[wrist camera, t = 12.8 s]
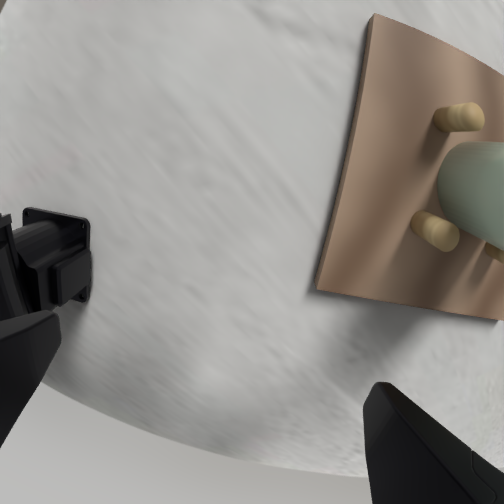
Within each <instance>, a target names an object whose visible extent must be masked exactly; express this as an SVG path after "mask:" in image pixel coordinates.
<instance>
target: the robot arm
mask: <svg viewBox="0 0 504 504" xmlns="http://www.w3.org/2000/svg"><path fill="white" fill-rule="evenodd" d="M28 213H29V215H28ZM11 223H12V219H11V214H7V215H1V213H0V448H1V446H2V444H3V443H4V441H5V439H6V437H7V436H8V434H9V432H10V431H11V429H12V427H13V425H14V424H15V422H16V420H17V419H18V417H19V416H20V414H21V412H22V411H23V409H24V407H25V406H26V404H27V403H28V401H29V399H30V398H31V396H32V395H33V393H34V392H35V390H36V388H37V387H38V385H39V384H40V382H41V380H42V378H43V376H44V374H45V372H46V371H47V369H48V367H49V365H50V363H51V361H52V359H53V357H54V355H55V354H56V352H57V350H58V348H59V346H60V344H61V330H60V322H59V317H58V315H57V314H56V313H54V312H51V311H52V310H53V309H54V308H55V307H57V306H59V307H61V306H63V305H64V304H65V303H66V302H67V301H68V300H70V299H73V300H76V301H79V302H83V303H84V302H86V301H87V300H88V299H89V283H90V249H89V235H90V223H89V221H88V220H87V219H86V218H82V217H77V216H72V215H67V214H62V213H57V212H52V211H47V210H42V209H37V208H32V207H27V208H25V209H24V210H23V227H21V228H18V229H16V230H13V231H12V227H11ZM81 223H83V224H84V228H83V227H82V226H81ZM81 294H83V295H84V297H83V296H82V295H81ZM363 421H364V439H365V455H366V463H367V469H368V475H369V482H370V489H371V496H372V503H373V504H504V473H503V472H501V471H500V470H498V469H497V468H496V467H494V466H493V465H491V464H490V463H489V462H487V461H486V460H485V459H483V458H482V457H481V456H480V455H478V454H477V453H476V452H475V451H473V450H472V451H471V448H470V447H468V446H467V445H466V444H465V443H463V442H462V441H461V440H460V439H458V438H457V437H456V436H455V435H453V434H452V433H451V432H450V431H448V430H447V429H446V428H445V427H444V426H442V425H441V424H440V423H439V422H437V421H436V420H435V419H434V418H432V417H431V416H430V415H429V414H427V413H426V412H425V411H424V410H423V409H421V408H420V407H419V406H418V405H416V404H415V403H414V402H413V401H412V400H410V399H409V398H408V397H407V396H405V395H404V394H403V393H402V392H401V391H399V390H398V389H397V388H396V387H395V386H393V385H392V384H391V383H388V382H376V383H375V384H374V386H373V387H372V389H371V391H370V393H369V395H368V397H367V399H366V401H365V403H364V405H363Z"/></svg>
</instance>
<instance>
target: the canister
mask: <svg viewBox="0 0 504 504" xmlns="http://www.w3.org/2000/svg"><path fill="white" fill-rule="evenodd" d="M437 190H438V198H439V202H440V205H441V208H442V210H443V212H444V214H445V216H446V217H447V219H448V220H449V221H450V222H451V223H453V224H455V225H456V226H457V227H458V228H460V229H462V230H464V231H466V232H468V233H470V234H472V235H474V236H476V237H478V238H480V239H482V240H484V241H486V242H488V243H490V244H491V245H493V246H495V247H497V248H499V249H501V250H503V251H504V142H480V141H466V142H462V143H459V144H457V145H456V146H454V147H453V148H452V149H451V150H450V151H449V152H448V153H447V155H446V156H445V158H444V160H443V161H442V164H441V166H440V170H439V174H438V182H437Z"/></svg>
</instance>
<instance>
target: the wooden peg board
mask: <svg viewBox="0 0 504 504" xmlns="http://www.w3.org/2000/svg"><path fill="white" fill-rule="evenodd" d="M466 141H480V142H504V76H503V75H502V74H500V73H499V72H497V71H495V70H494V69H492V68H491V67H489V66H487V65H486V64H484V63H482V62H481V61H479V60H477V59H476V58H474V57H472V56H470V55H468V54H467V53H465V52H463V51H461V50H459V49H457V48H455V47H453V46H451V45H450V44H448V43H446V42H443V41H441V40H439V39H437V38H435V37H433V36H431V35H429V34H426V33H424V32H422V31H420V30H417V29H415V28H413V27H410V26H408V25H405V24H403V23H400V22H398V21H395V20H393V19H390V18H387V17H384V16H382V15H379V14H376V13H374V14H373V16H372V17H371V18H370V19H369V25H368V32H367V40H366V46H365V53H364V60H363V66H362V72H361V78H360V84H359V90H358V95H357V101H356V106H355V111H354V117H353V122H352V127H351V132H350V137H349V142H348V147H347V151H346V156H345V161H344V165H343V170H342V174H341V179H340V183H339V187H338V192H337V196H336V200H335V204H334V208H333V212H332V216H331V220H330V224H329V228H328V232H327V236H326V240H325V244H324V248H323V251H322V255H321V259H320V263H319V266H318V270H317V274H316V277H315V281H314V283H315V286H316V289H318V290H324V291H329V292H335V293H340V294H345V295H351V296H357V297H362V298H368V299H373V300H379V301H385V302H391V303H396V304H402V305H408V306H414V307H420V308H426V309H432V310H438V311H444V312H451V313H457V314H463V315H470V316H476V317H483V318H489V319H496V320H503V321H504V251H503V250H501V249H499V248H497V247H495V246H493V245H491V244H490V243H488V242H486V241H484V240H482V239H480V238H478V237H476V236H474V235H472V234H470V233H468V232H466V231H464V230H462V229H460V228H458V227H457V226H456V225H455V224H453V223H451V222H450V221H449V220H448V219H447V217H446V216H445V214H444V212H443V210H442V208H441V205H440V202H439V198H438V190H437V182H438V174H439V170H440V166H441V164H442V161H443V160H444V158H445V156H446V155H447V153H448V152H449V151H450V150H451V149H452V148H453V147H454V146H456V145H457V144H459V143H462V142H466Z"/></svg>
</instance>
